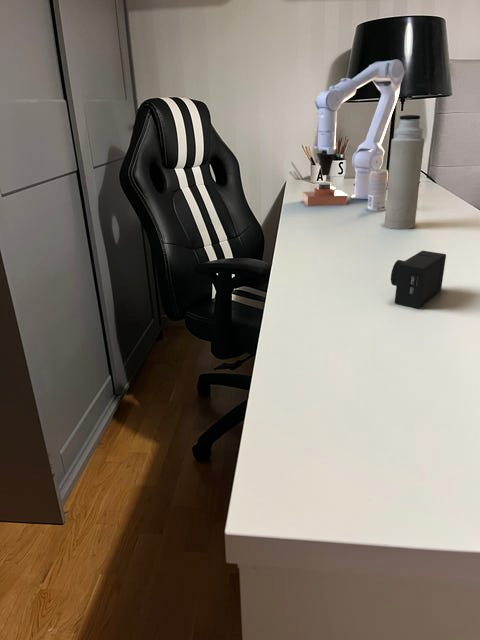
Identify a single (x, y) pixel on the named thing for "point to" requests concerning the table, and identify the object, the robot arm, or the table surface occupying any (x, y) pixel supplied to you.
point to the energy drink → (377, 190)
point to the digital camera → (418, 278)
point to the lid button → (324, 186)
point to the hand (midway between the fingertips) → (325, 175)
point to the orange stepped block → (324, 197)
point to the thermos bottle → (404, 174)
